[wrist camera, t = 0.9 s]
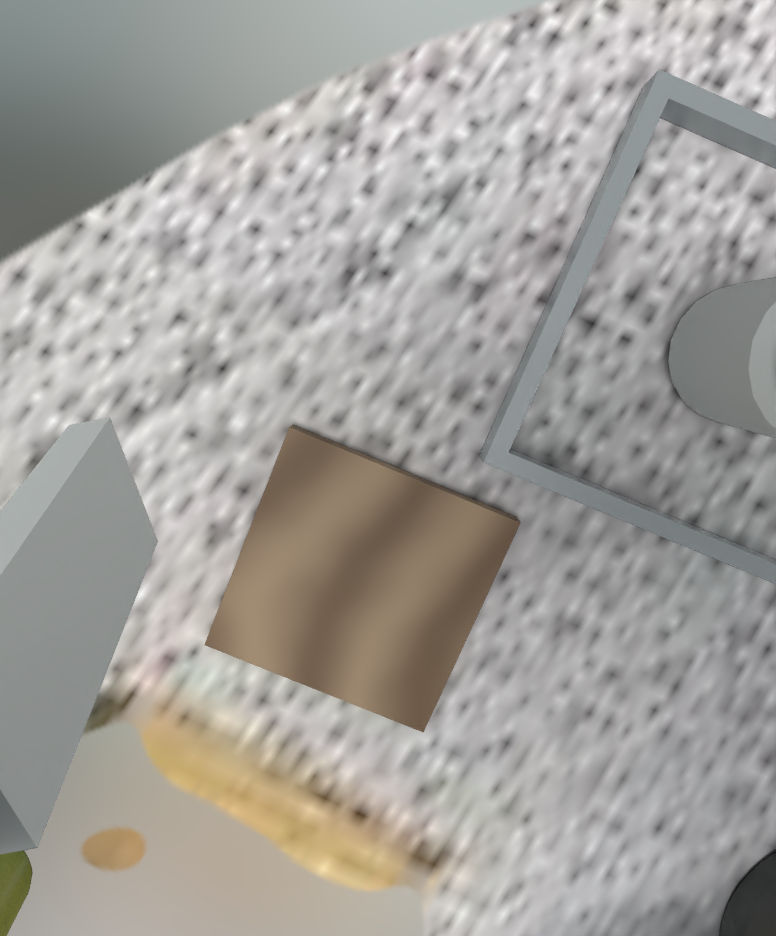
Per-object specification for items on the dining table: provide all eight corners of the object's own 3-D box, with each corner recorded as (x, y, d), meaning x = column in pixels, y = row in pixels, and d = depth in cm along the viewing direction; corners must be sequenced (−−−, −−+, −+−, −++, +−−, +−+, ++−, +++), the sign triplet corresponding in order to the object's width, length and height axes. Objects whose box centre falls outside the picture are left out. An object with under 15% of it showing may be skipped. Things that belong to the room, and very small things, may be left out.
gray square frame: (1003, 246, 38) (1044, 239, 36) (810, 593, 42) (835, 608, 39) (642, 87, 37) (659, 69, 35) (479, 455, 41) (483, 462, 39)
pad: (517, 517, 42) (520, 522, 40) (422, 721, 44) (423, 732, 43) (293, 424, 41) (289, 427, 40) (210, 636, 44) (204, 645, 42)
